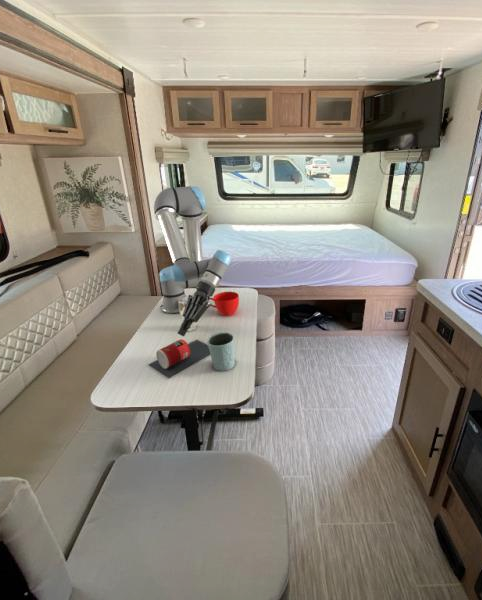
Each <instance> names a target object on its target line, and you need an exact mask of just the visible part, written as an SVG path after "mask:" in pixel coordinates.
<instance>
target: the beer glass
mask: <svg viewBox="0 0 482 600" xmlns="http://www.w3.org/2000/svg"><path fill="white" fill-rule="evenodd" d="M187 301H188V297H187V298H182V299H180V300H179V301H178V302H179V311H180V312H179V314H180V317H181V320H182V322H183V321H184V317H183V316H182V315H183V312H184V309H185V306H186V304H187ZM196 328H197V325H196V322H193V323H192V324H191V326H190V328H189V329H188V330H187V332H190V331H194V330H195V329H196Z"/></svg>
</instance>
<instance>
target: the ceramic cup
mask: <svg viewBox="0 0 482 600" xmlns="http://www.w3.org/2000/svg"><path fill="white" fill-rule="evenodd" d="M210 300H211V301H213V302H214V304H212V303H211V302H210ZM209 303H211V306H210V307H212V308H214V309H216V310H217V311H218V313H219V314H221V315H222V316H224V317H230V316H233V315H235V313H236V312H237V310H238V308H239V303H240V296H239V294H238V292H235V291H222V292H219V293H216V294H214V295H213V297H210V298H209Z"/></svg>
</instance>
